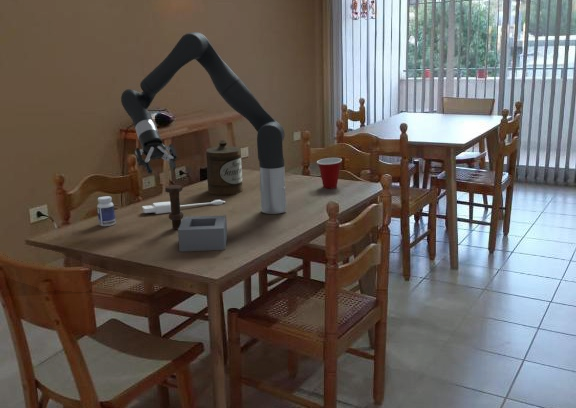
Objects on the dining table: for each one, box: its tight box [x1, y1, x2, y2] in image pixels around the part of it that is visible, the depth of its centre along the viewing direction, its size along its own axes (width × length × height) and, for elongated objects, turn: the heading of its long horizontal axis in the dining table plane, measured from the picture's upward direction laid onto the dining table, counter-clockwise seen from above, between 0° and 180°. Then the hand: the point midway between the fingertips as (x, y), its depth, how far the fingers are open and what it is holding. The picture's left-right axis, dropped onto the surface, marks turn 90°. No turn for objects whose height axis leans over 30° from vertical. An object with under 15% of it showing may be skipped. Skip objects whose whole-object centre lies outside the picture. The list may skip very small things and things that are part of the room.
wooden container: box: [205, 139, 243, 196], centre depth 256 cm, size 15×15×22 cm
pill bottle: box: [96, 195, 117, 227], centre depth 215 cm, size 6×6×10 cm
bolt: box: [165, 184, 184, 230], centre depth 207 cm, size 6×5×15 cm
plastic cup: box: [316, 157, 343, 189], centre depth 259 cm, size 11×11×12 cm
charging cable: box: [141, 199, 227, 215], centre depth 233 cm, size 5×32×3 cm, turn 114°
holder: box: [177, 214, 228, 252], centre depth 193 cm, size 14×14×7 cm
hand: (162, 171), depth 212 cm, fingers open, 8 cm apart
